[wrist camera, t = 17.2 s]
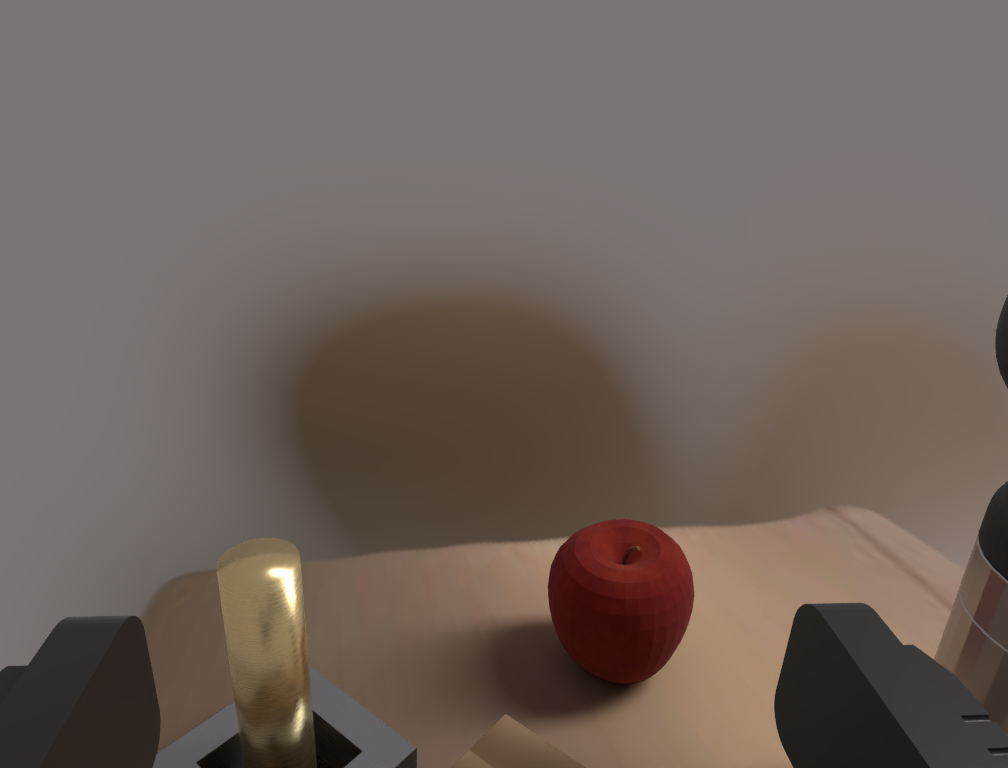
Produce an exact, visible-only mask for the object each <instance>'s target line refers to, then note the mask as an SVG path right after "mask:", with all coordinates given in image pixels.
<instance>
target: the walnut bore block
mask: <svg viewBox="0 0 1008 768" xmlns="http://www.w3.org/2000/svg"><path fill="white" fill-rule="evenodd" d="M452 768H585V767H584V766H582V765H581V764H579V763H578V762H576V761H575V760H574V759H572V758H571V757H569V756H568V755H566V754H565V753H563V752H562V751H560V750H559V749H557V748H556V747H554V746H553V745H551V744H550V743H548V742H547V741H545V740H544V739H542V738H541V737H539V736H538V735H536V734H535V733H533V732H532V731H530V730H529V729H527V728H526V727H524V726H523V725H521V724H520V723H518V722H517V721H515V720H514V719H512V718H511V717H509V716H508V715H507V714H505V715H504V716H503V717H502V718H501V719H500V720H499V721H498V722H497V723H496V724H495V725H494V726H493V727H492V728H491V729H490V730H489V731H488V732H487V733H486V734H485V735H484V736H483V737H482V738H481V739H480V740H479V741H478V742H477V743H476V744H475V745H474V746H473V747H472V748H471V749H470V750H469V751H468V752H467V753H466V754H465V755H464V756H463V757H462V758H461V759H460V760H459V761H458V762H457V763H456V764H455V765H454V766H453V767H452Z"/></svg>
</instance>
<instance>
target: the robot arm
mask: <svg viewBox="0 0 1008 768" xmlns="http://www.w3.org/2000/svg"><path fill="white" fill-rule="evenodd" d="M995 348H996V358H997V362H998V366H999V370H1000V374H1001V376H1002V378H1003V380H1004V382H1005V384H1006V386H1007V388H1008V296H1007V298H1006V301H1005V303H1004V306H1003V308H1002V311H1001V314H1000V318H999V321H998V325H997V329H996V347H995ZM774 709H775V719H776V725H777V730H778V733H779V737H780V740H781V743H782V745H783V747H784V750H785V752H786V754H787V756H788V758H789V760H790V761H791V763H792V765H793V767H794V768H1008V482H1006V483H1005V484H1004V485H1002V486H1001V487H1000V488H999V489H998V490H997V491H996V493H995V494H994V495H993V497H992V499H991V501H990V503H989V505H988V508H987V510H986V513H985V516H984V519H983V522H982V524H981V527H980V530H979V534H978V536H977V539H976V541H975V544H974V547H973V550H972V553H971V556H970V558H969V561H968V564H967V567H966V570H965V572H964V575H963V578H962V581H961V585H960V588H959V591H958V593H957V596H956V599H955V602H954V605H953V607H952V610H951V613H950V616H949V619H948V622H947V624H946V627H945V630H944V633H943V636H942V639H941V641H940V644H939V647H938V650H937V653H936V655H935V658H934V660H933V659H932V658H931V657H929V656H928V655H927V654H925V653H924V652H922V651H921V650H920V649H918V648H917V647H916V646H914V645H902V643H901V642H900V641H899V640H898V638H897V637H896V636H895V635H894V634H893V632H892V631H891V630H890V629H889V627H888V626H887V625H886V624H885V622H884V621H883V620H882V619H881V618H880V616H879V615H878V614H877V613H876V612H875V611H874V610H873V609H872V608H871V607H870V606H868V605H866V604H864V603H832V604H804V605H802V606H801V607H800V608H799V609H798V610H797V612H796V614H795V617H794V621H793V625H792V629H791V633H790V637H789V641H788V645H787V649H786V653H785V657H784V661H783V665H782V669H781V673H780V677H779V681H778V685H777V689H776V693H775V702H774ZM159 737H160V710H159V704H158V699H157V694H156V689H155V683H154V678H153V673H152V668H151V662H150V657H149V652H148V647H147V641H146V636H145V631H144V627H143V624H142V622H141V620H140V619H139V618H138V617H137V616H101V617H100V616H99V617H68V618H65V619H63V620H61V621H60V622H59V623H58V624H57V625H56V626H55V628H54V629H53V630H52V632H51V633H50V635H49V636H48V637H47V639H46V640H45V642H44V643H43V645H42V646H41V648H40V649H39V650H38V652H37V653H36V655H35V656H34V657H33V659H32V661H31V662H30V663H29V665H28V666H7V667H6V668H4V669H3V670H2V671H1V672H0V768H153V765H154V761H155V758H156V754H157V749H158V744H159Z"/></svg>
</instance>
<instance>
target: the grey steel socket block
mask: <svg viewBox="0 0 1008 768" xmlns="http://www.w3.org/2000/svg"><path fill="white" fill-rule="evenodd" d="M309 674H310V686H311V698H312V710H313V723H314V735H315V747H316V755H317V756H318V757H319V758H320V759H322V760H323V761H324V762H325V763H326V764H327V765H328V766H330V767H331V768H417V748H416V747H415V746H414V745H412V744H411V743H410V742H408V741H407V740H406V739H405V738H403V737H402V736H401V735H399V734H398V733H397V732H395V731H394V730H393V729H392V728H390V727H389V726H388V725H386V724H385V723H384V722H383V721H381V720H380V719H379V718H377V717H376V716H375V715H373V714H372V713H371V712H370V711H368V710H367V709H366V708H364V707H363V706H362V705H361V704H359V703H358V702H357V701H355V700H354V699H353V698H351V697H350V696H349V695H348V694H346V693H345V692H344V691H342V690H341V689H340V688H339V687H337V686H336V685H335V684H333V683H332V682H331V681H329V680H328V679H327V678H326V677H324V676H323V675H322V674H320V673H319V672H318V671H317V670H315V669H314V668H313V667H311V666H310V665H309ZM153 768H244V765H243V758H242V750H241V743H240V736H239V729H238V721H237V714H236V707H235V702H233V703H232V704H230V705H229V706H227V707H226V708H224V709H223V710H221V711H220V712H218V713H217V714H215V715H214V716H212V717H211V718H209V719H208V720H206V721H205V722H203V723H202V724H200V725H199V726H197V727H196V728H194V729H193V730H192V731H190V732H189V733H187V734H186V735H184V736H183V737H181V738H180V739H178V740H177V741H175V742H174V743H172V744H171V745H169V746H168V747H166V748H165V749H163V750H162V751H160V752H159V753H157V754H156V758H155V761H154V765H153Z"/></svg>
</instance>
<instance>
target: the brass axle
mask: <svg viewBox="0 0 1008 768" xmlns="http://www.w3.org/2000/svg"><path fill="white" fill-rule="evenodd" d="M217 576H218V583H219V590H220V597H221V605H222V612H223V619H224V627H225V634H226V641H227V648H228V656H229V663H230V670H231V678H232V685H233V692H234V699H235V707H236V714H237V721H238V729H239V736H240V743H241V750H242V758H243V765H244V768H317V759H316V747H315V735H314V723H313V710H312V698H311V686H310V674H309V662H308V650H307V638H306V626H305V614H304V601H303V589H302V577H301V565H300V554H299V550H298V549H297V547H296V546H295V545H293V544H292V543H290V542H288V541H286V540H282V539H278V538H258V539H253V540H249V541H245V542H242V543H240V544H238V545H236V546H234V547H232V548H230V549H229V550H228V551H226V552H225V553H224V554H223V555H222V556H221V557H220V559H219V561H218V563H217Z"/></svg>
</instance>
